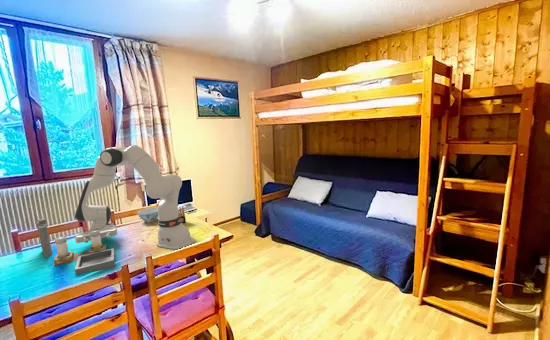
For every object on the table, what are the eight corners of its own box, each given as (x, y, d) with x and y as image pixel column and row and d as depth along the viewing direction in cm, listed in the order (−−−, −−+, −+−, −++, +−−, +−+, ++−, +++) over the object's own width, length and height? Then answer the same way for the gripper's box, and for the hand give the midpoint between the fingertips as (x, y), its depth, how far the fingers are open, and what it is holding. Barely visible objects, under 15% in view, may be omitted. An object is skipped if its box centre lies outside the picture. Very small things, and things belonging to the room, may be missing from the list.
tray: (114, 254, 153) (113, 248, 152) (114, 266, 139) (113, 260, 139) (79, 262, 145) (78, 256, 145) (75, 276, 132) (74, 269, 131)
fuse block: (108, 248, 161) (107, 242, 160) (107, 255, 152) (106, 249, 152) (56, 260, 149) (54, 253, 149) (52, 268, 141) (51, 261, 140)
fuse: (71, 258, 148) (67, 237, 145) (61, 262, 144) (56, 240, 142) (67, 256, 150) (63, 235, 148) (57, 260, 147) (53, 239, 144)
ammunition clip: (170, 226, 191) (168, 209, 189) (169, 225, 193) (167, 208, 191) (186, 222, 197) (184, 206, 195) (185, 222, 199) (183, 205, 196)
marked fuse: (104, 251, 155) (101, 230, 153) (95, 254, 151) (92, 233, 149) (100, 249, 157) (97, 229, 155) (91, 252, 154) (88, 232, 152)
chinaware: (163, 221, 203) (162, 210, 201) (140, 226, 194) (139, 215, 193) (158, 215, 215) (157, 206, 214) (137, 220, 207) (136, 210, 205)
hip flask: (42, 250, 163) (35, 217, 159) (50, 247, 166) (44, 215, 162) (44, 259, 151) (37, 223, 148) (54, 256, 154) (47, 221, 151)
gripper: (75, 230, 161) (72, 238, 149) (116, 222, 170) (116, 229, 158) (77, 240, 162) (74, 249, 150) (117, 232, 171) (118, 240, 160)
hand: (96, 239), depth 154 cm, fingers open, 8 cm apart
